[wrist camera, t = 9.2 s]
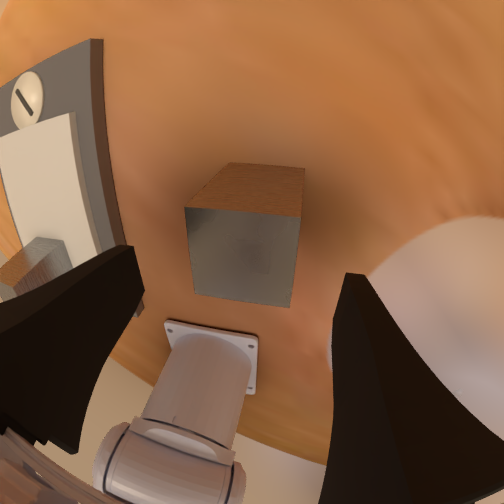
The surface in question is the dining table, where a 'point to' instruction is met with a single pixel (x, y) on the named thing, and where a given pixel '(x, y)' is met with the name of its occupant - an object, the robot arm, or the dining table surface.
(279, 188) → the block
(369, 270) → the dining table surface
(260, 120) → the dining table surface
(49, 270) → the block
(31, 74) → the scale
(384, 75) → the dining table surface
